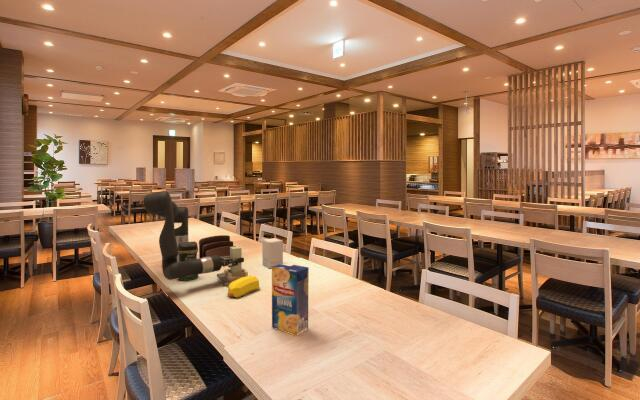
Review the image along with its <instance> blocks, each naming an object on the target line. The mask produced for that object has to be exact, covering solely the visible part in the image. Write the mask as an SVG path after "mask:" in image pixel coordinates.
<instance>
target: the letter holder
mask: <svg viewBox="0 0 640 400" xmlns="http://www.w3.org/2000/svg"><path fill="white" fill-rule="evenodd" d="M230 247H237V246H235V245H234V241H232V240H231V236H230V235H227V234H226V235H224V234H223V235H222V234H221V235H212V236H207V237H204V238H203V237H202V238H200V239H199V241H198V253H199V254H198V256H199V257H198V259H200V258H203V257H208V256H214V255H218V256H226V255H227V256H230Z"/></svg>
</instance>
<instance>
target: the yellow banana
mask: <svg viewBox="0 0 640 400" xmlns="http://www.w3.org/2000/svg"><path fill="white" fill-rule="evenodd" d="M227 287H228V289H227V296H228V297H229V298H233V297H234V298H236V299H237V298H238V299H239V298H241V297H243V296H245V295H247V294H248V293H252V292H255V291H257V290H258V289H259V288H260V280H259V278H258V277H257V276H253V275H248V276H246V277H242V278H240V279H237V280H235V281H233V282H231V283H230V284H229V286H227Z"/></svg>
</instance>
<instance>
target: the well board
mask: <svg viewBox="0 0 640 400" xmlns="http://www.w3.org/2000/svg"><path fill="white" fill-rule="evenodd" d="M223 271H224V272H221V273H217V274H216V277H217V278H218V280H219V281H220V282H221V283H222V284H223V286H224V287H229V284H230V283H231V282H233V281H235V280H237V279H240V278H242V277H246V276H249V272H248V271H247V270H246V269H245V268H244V267H243V266H242V272H239V273H232V274H231V273H230V268H227V269H224V270H223Z"/></svg>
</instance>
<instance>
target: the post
mask: <svg viewBox="0 0 640 400" xmlns="http://www.w3.org/2000/svg"><path fill="white" fill-rule="evenodd" d="M242 250H243V249H242V247H241V246H239V245H238V246H236V247H230V258H232V259H237V258H243V257H242ZM230 261H231V260H230ZM242 263H243V262H241V263H238V265H236V266H233V267H229V269H230V273H231V274H232V273H239V272H242V267H243V266H242Z"/></svg>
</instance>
